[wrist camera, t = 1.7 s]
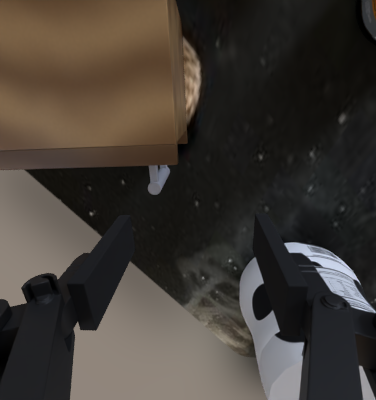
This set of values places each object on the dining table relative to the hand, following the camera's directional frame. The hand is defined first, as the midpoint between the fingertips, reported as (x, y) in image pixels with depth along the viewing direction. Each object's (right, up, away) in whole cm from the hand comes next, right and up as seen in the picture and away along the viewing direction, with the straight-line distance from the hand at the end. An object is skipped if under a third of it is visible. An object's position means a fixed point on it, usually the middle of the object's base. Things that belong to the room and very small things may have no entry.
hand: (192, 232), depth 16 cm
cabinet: (-11, +17, +15) cm, 25 cm away
